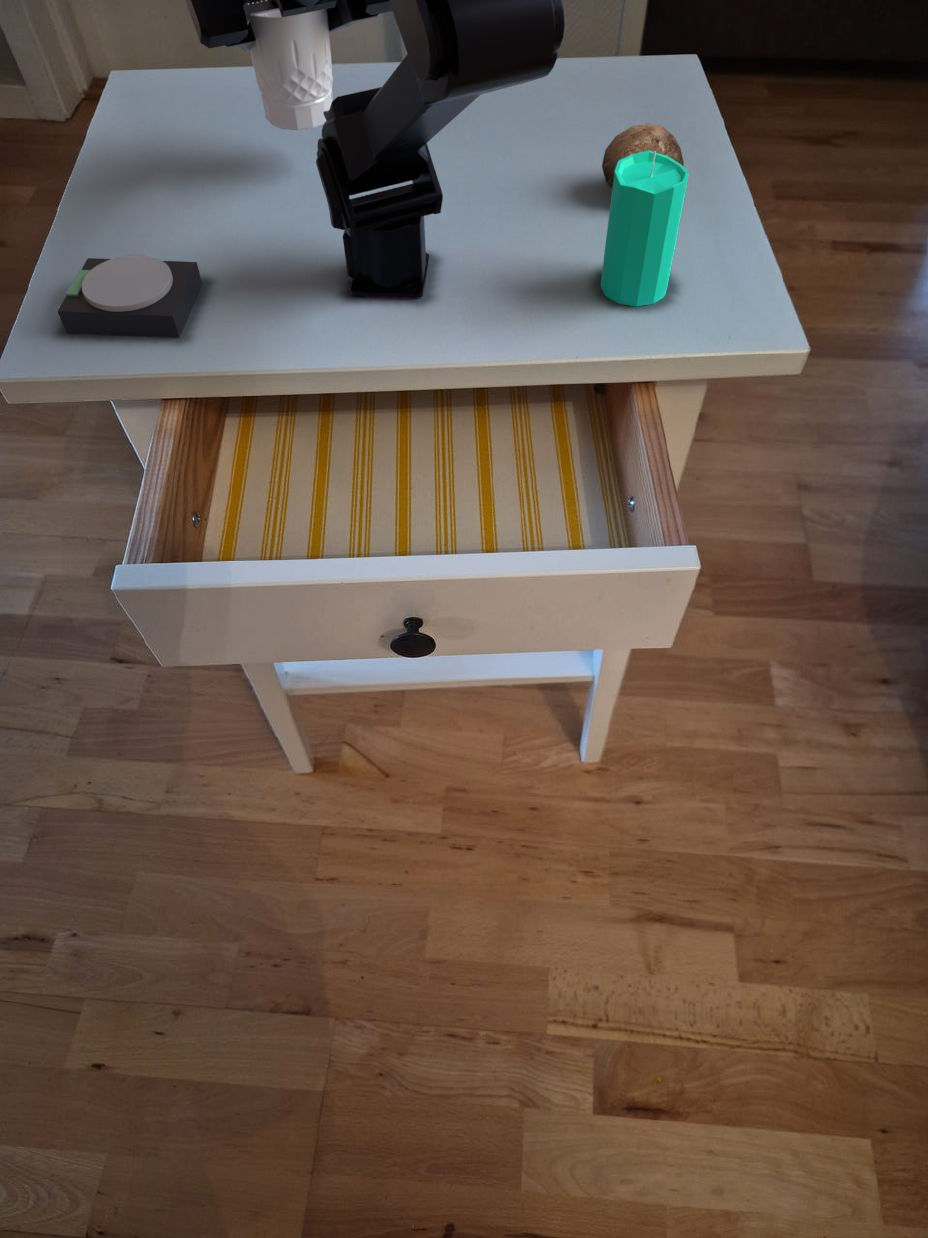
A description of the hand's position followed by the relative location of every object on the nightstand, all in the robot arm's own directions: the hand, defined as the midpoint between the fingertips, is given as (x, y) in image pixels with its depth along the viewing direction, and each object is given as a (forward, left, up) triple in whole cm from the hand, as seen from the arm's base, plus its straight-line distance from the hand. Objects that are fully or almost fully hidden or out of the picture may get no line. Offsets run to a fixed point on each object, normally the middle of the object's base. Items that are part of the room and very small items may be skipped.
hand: (284, 36), depth 86 cm
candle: (-34, +20, -12) cm, 41 cm away
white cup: (-1, +1, -7) cm, 7 cm away
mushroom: (-35, +4, -12) cm, 37 cm away
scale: (+10, +26, -12) cm, 31 cm away
